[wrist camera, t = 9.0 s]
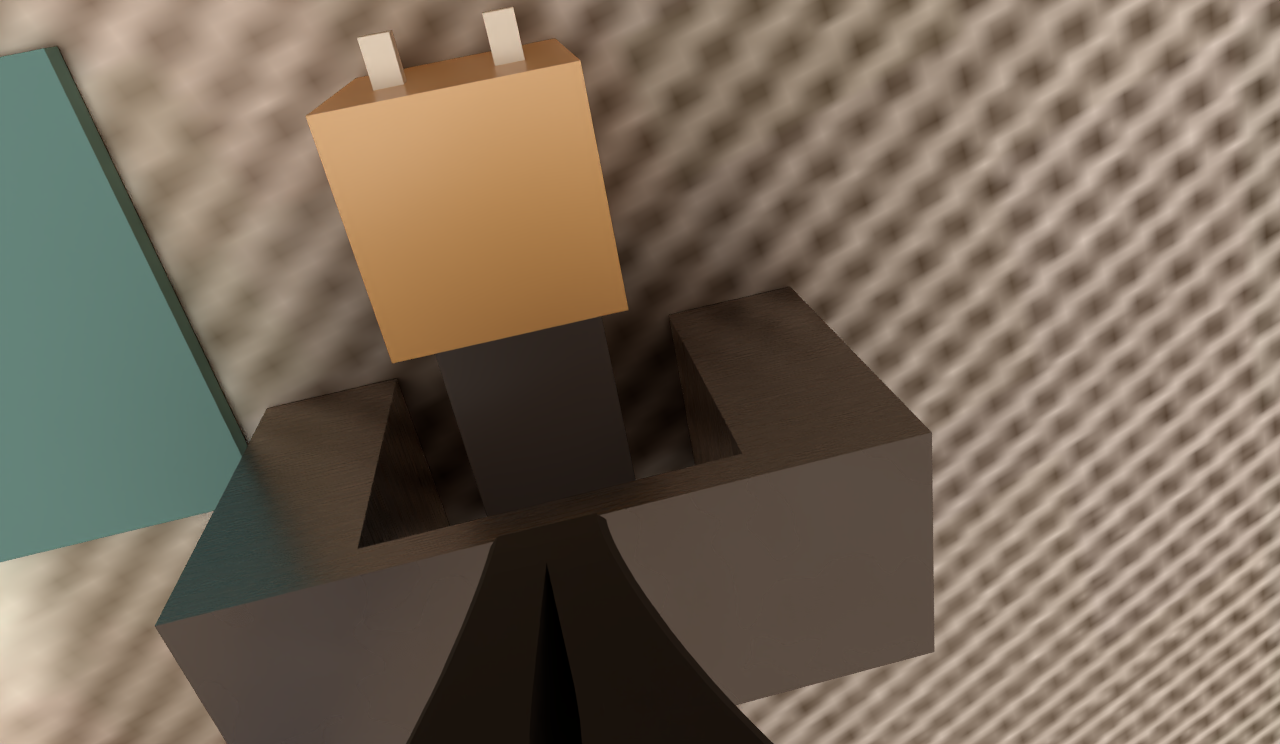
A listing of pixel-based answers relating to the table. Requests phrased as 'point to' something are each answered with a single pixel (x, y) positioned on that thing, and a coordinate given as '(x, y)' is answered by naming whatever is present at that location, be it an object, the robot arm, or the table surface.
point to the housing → (635, 512)
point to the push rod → (539, 415)
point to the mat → (90, 340)
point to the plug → (471, 192)
